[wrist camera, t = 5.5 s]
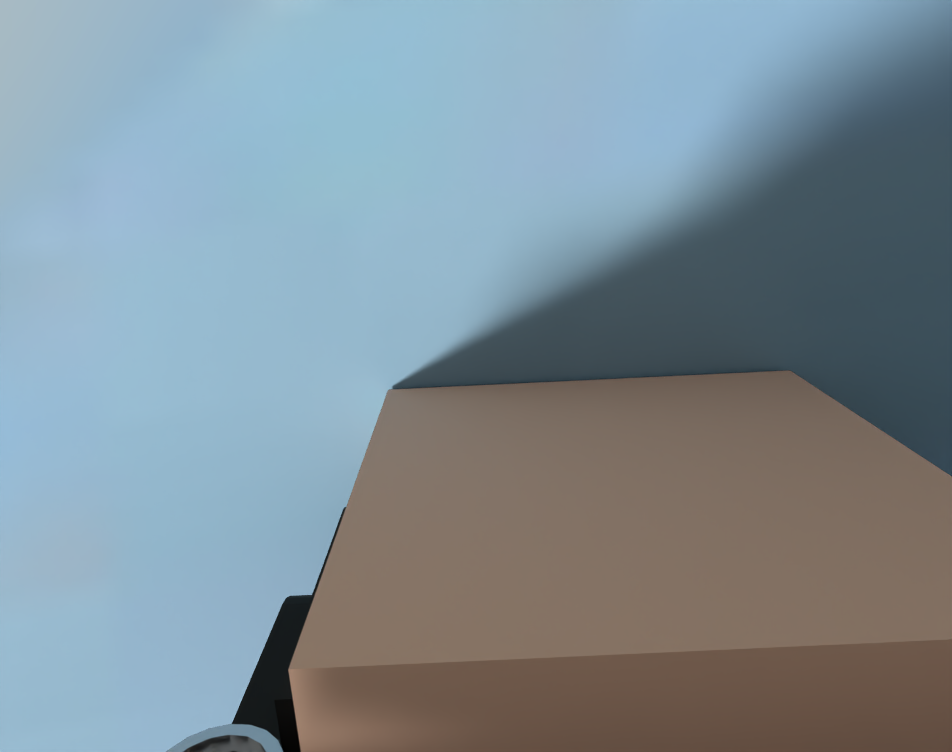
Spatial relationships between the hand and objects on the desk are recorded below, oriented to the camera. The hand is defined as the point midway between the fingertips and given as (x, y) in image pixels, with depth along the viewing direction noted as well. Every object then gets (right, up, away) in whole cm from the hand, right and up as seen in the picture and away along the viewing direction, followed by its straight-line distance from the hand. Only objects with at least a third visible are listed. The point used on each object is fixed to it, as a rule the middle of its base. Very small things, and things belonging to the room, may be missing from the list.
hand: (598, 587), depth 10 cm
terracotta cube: (0, 0, +1) cm, 1 cm away
